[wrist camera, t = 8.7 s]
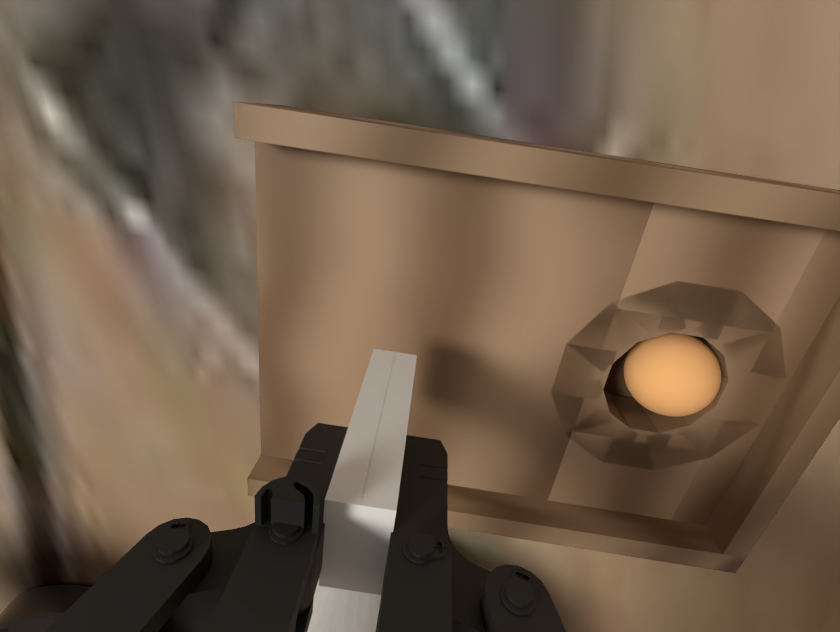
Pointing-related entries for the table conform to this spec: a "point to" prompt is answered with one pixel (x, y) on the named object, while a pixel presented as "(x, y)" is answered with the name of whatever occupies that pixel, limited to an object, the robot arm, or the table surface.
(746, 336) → the board
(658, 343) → the ball
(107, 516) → the table surface
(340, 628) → the mug
